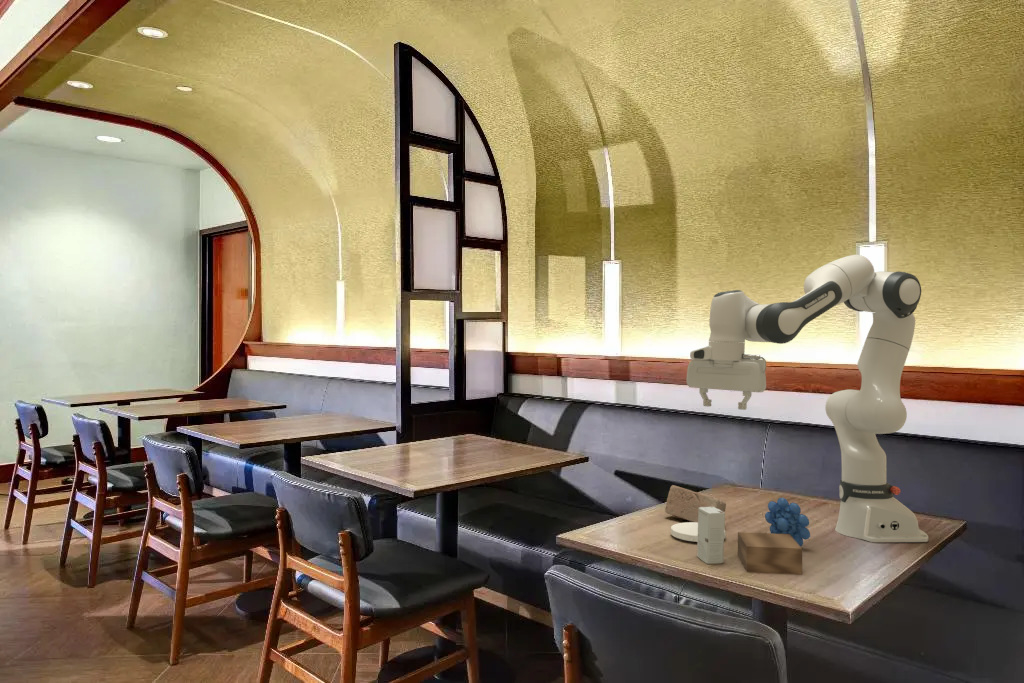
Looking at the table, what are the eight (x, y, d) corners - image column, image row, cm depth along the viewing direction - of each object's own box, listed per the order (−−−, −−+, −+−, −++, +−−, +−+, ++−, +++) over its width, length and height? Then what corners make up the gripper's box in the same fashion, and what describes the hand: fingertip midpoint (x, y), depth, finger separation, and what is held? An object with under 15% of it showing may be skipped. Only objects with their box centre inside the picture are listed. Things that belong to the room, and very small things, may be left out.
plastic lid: (660, 538, 191) (660, 529, 191) (688, 528, 202) (688, 519, 202) (708, 549, 182) (708, 539, 182) (735, 538, 192) (735, 528, 192)
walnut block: (789, 559, 174) (789, 534, 174) (802, 575, 162) (802, 548, 162) (737, 556, 175) (737, 532, 175) (746, 572, 164) (746, 546, 164)
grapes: (757, 544, 185) (757, 497, 185) (769, 539, 190) (769, 493, 190) (802, 554, 177) (802, 505, 177) (813, 548, 182) (814, 500, 182)
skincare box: (696, 556, 175) (696, 506, 174) (713, 555, 175) (713, 506, 175) (707, 564, 168) (707, 512, 168) (725, 563, 169) (725, 512, 169)
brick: (727, 501, 201) (718, 498, 198) (720, 530, 200) (710, 528, 197) (679, 487, 214) (669, 484, 211) (672, 514, 213) (662, 512, 210)
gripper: (771, 355, 180) (769, 410, 180) (695, 352, 193) (694, 404, 193) (761, 355, 175) (759, 412, 175) (684, 352, 188) (682, 405, 188)
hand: (724, 407), depth 184 cm, fingers open, 8 cm apart
